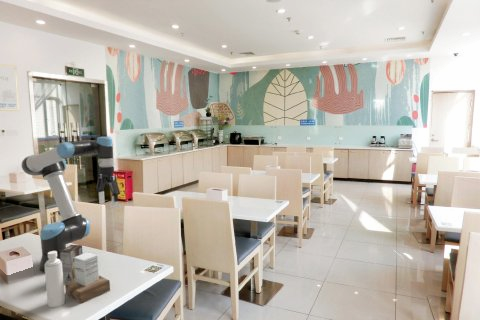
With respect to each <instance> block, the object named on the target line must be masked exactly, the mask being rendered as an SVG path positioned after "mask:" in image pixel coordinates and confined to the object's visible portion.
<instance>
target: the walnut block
mask: <svg viewBox="0 0 480 320" xmlns="http://www.w3.org/2000/svg"><path fill="white" fill-rule="evenodd" d="M110 281H111V280H110V279H107V278H106V277H103V276H101V275H99V280H98V281H96V282H94V283H92V284H90V285H88V286H83V285H81V284H78V283H76V280H73V281H71V282H64V290H65V295H67V296H69V297H71V298H72V299H73V300H75V301H76V302H79V303H80V304H83V303H85V302H87V301H90V300H93V299H94V298H97V297H99V296H101V295H103V294H106V293H108V292H110V291H111V284H110V283H111V282H110Z"/></svg>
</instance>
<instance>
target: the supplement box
mask: <svg viewBox="0 0 480 320" xmlns="http://www.w3.org/2000/svg"><path fill="white" fill-rule="evenodd" d="M98 259H99V258H98V254H94V253H90V252H88V251H87V252H84V253H83V254H81V255H79V256H76V257H74V262H75V277H76V283H78V284H81V285H83V286H88V285H90V284H92V283H94V282H96V281H98V280H99V276H100V274H99V263H98Z"/></svg>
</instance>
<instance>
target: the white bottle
mask: <svg viewBox="0 0 480 320" xmlns="http://www.w3.org/2000/svg"><path fill="white" fill-rule="evenodd" d="M48 258H49V260H48V261H47V262H46V263H45V264H44V266H45V272H44V274H45V275H44V277H45V287H46V298H47V299H46V301H47V306H48V308H58V307H61V306H62V305H64V304H65V302H66V298H65V297H66V296H65V295H66V294H65V282H63V270H62V262H61V260H60V259H57V251H51V252H48Z"/></svg>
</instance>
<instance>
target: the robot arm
mask: <svg viewBox="0 0 480 320" xmlns="http://www.w3.org/2000/svg"><path fill="white" fill-rule="evenodd" d="M113 143H114V142H113V138H112V137H111V136H98V137H96V140H95V139H94V140H91V139H85V140H80V141H79V140H78V141H63V142H59V143H58V144H57V146H56V147H54V148H51V149H49V150H46V151H43V152H41V153H39V154H30V155H29V156H26V157H25V158H24V159H23V160H22V161H21V169H22V171H23V172H24V173H25V174H27V175H30V176H41V177H42V178H43V180H45V181H47V183H48V186H49V188H50V192H51V193H52V195H53V199H54V202H55V204H56V207H57V209H58V211H59V214H60V217H61V220H60V221H57V222H52V223H48V224H46V225H44V226H43V227H41V229H40V234H39V235H40V236H39V238H40V245H41V247H40V248H41V258H40V262H39V265H38V266H39V271H40V272H42V273H45V266H44V264H45V263H46V262H47V261H48V260H49V258H48V252H51V251H57V259H60V251H61V250H63V249H65V248H66V247H67V245H68V244H70V243H74V242H77V241H80V240H82V239H84V238H87V236H88V235H89V234H90V232H91V224H90V221H89V219H87V218H86V217H83V216H82V215H83V214H82V213H79V212H78V210H77V208H76V205H75V202H74V201H73V197H72V196H71V192H70V190H69V187H68V185H67V182H66V178H65V177H64V175H65V170H66V169H67V162H66V160H68V159H70V158H73V157H80V156H81V157H82V156H90V155H97V163H98V175H97V183H96V187H95V190H96V191H97V192H98V201H99V202H98V203H99V204H98V205H102V204H105V202H106V200H105V187H106V185H107V186H108V188H109V189H110V192H111V202H112V208H113V209H116V208H119V199H118V198H119V197H118V196H119V195H120V194H121V191H120V188H119V184H118V182H117V176H116V175H113V174H114V173H115V167H114V165H115V163H114V144H113Z"/></svg>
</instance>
